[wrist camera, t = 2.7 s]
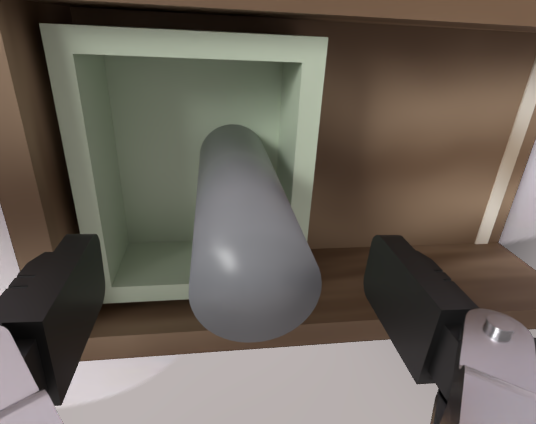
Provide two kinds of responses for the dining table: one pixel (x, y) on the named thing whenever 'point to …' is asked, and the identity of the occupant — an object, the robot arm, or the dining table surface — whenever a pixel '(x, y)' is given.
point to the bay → (319, 150)
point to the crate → (195, 166)
